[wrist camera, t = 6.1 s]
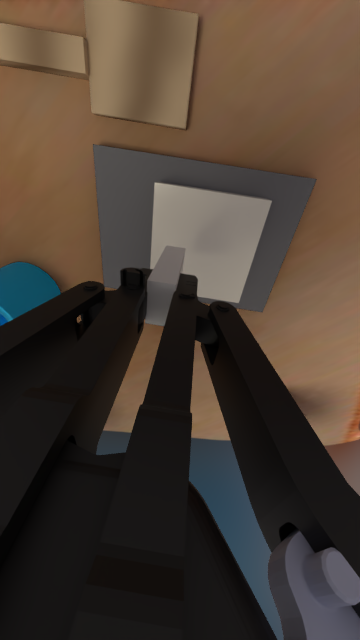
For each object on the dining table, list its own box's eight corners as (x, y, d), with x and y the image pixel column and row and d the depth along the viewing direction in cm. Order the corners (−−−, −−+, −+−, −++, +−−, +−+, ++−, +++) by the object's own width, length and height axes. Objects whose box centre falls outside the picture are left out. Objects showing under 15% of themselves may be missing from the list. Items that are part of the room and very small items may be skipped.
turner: (5, 100, 19) (-9, 94, 18) (-21, -16, 16) (-42, -33, 14) (186, 130, 19) (184, 127, 18) (198, 22, 16) (198, 8, 14)
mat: (107, 282, 28) (104, 286, 27) (98, 145, 20) (92, 144, 19) (260, 307, 28) (262, 312, 27) (311, 178, 20) (316, 179, 19)
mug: (-5, 254, 27) (-72, 280, 21) (60, 271, 28) (14, 302, 21) (13, 327, 34) (-34, 364, 27) (65, 340, 35) (31, 380, 28)
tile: (149, 288, 24) (238, 303, 24) (154, 182, 18) (272, 200, 18) (153, 279, 26) (236, 293, 26) (159, 181, 20) (265, 198, 20)
